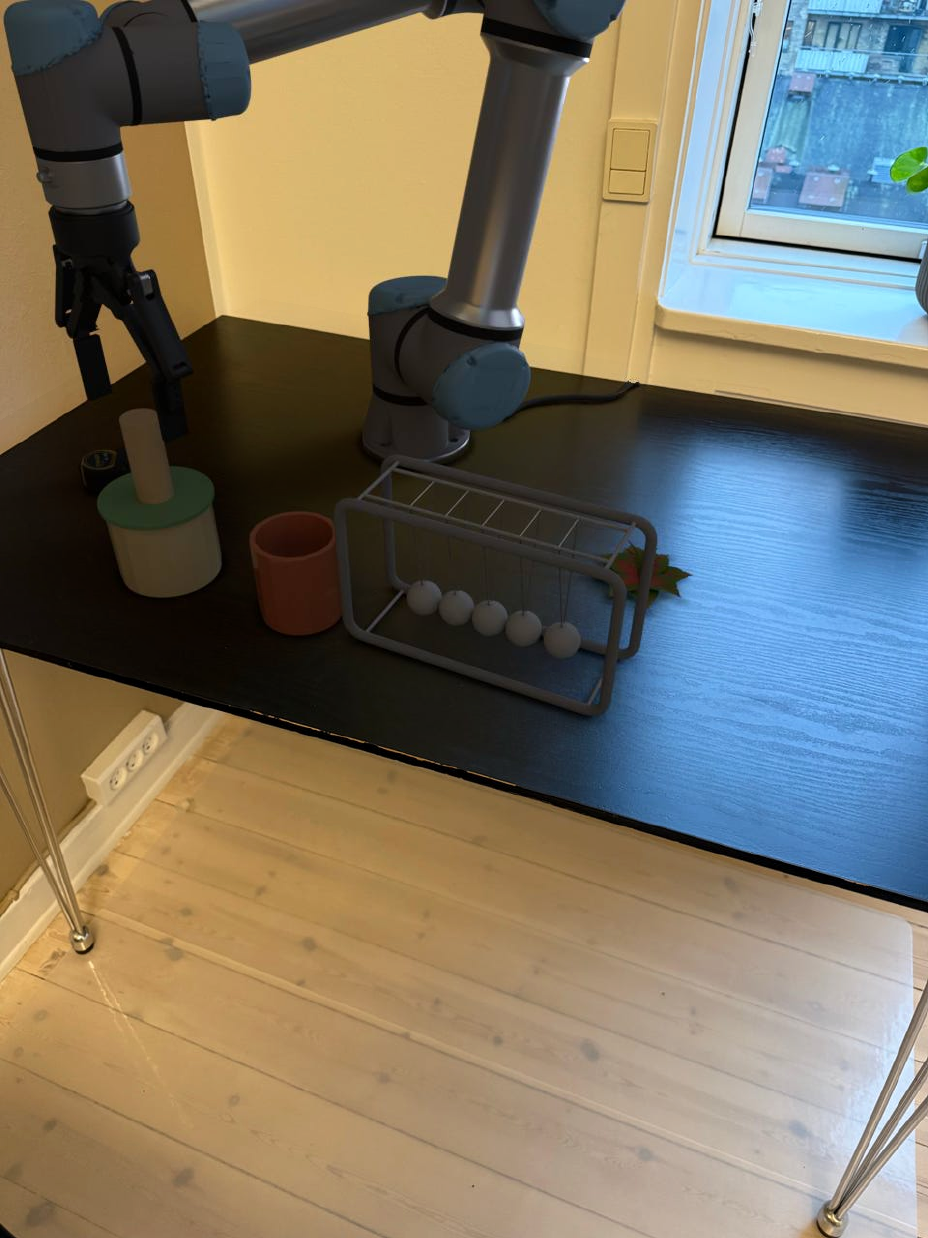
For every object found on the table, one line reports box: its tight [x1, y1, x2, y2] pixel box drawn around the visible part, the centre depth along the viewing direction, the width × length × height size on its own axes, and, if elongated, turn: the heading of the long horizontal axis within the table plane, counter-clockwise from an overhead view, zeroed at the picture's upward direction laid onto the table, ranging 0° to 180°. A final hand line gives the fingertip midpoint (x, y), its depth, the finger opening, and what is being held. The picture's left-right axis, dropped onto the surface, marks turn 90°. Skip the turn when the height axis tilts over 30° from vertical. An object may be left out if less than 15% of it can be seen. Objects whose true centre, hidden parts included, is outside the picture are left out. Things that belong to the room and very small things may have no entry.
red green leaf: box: [599, 539, 694, 610], centre depth 110 cm, size 12×12×5 cm
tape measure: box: [77, 446, 131, 493], centre depth 126 cm, size 7×7×4 cm
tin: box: [105, 502, 223, 599], centre depth 110 cm, size 11×11×10 cm
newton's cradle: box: [332, 455, 658, 717], centre depth 96 cm, size 30×10×18 cm, turn 64°
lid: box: [96, 407, 216, 531], centre depth 104 cm, size 13×13×11 cm
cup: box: [249, 510, 342, 636], centre depth 104 cm, size 9×9×10 cm
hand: (136, 416), depth 100 cm, fingers open, 13 cm apart
